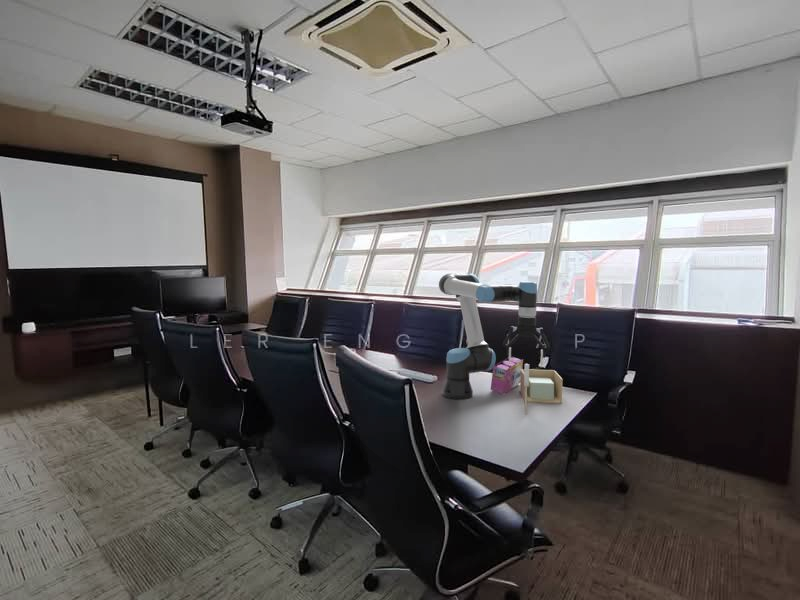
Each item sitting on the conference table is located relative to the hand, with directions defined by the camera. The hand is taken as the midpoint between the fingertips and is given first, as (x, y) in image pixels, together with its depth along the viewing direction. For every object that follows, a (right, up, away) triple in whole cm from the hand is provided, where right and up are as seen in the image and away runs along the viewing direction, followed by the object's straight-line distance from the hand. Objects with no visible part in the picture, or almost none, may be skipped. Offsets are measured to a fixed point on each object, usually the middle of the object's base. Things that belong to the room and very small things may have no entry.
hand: (525, 363), depth 177 cm
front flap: (+2, -22, +6) cm, 23 cm away
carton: (+14, -21, +22) cm, 33 cm away
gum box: (+1, -18, +37) cm, 41 cm away
